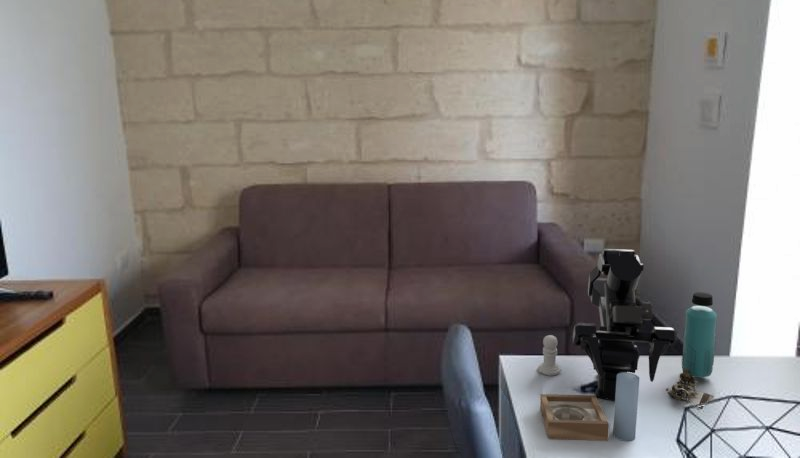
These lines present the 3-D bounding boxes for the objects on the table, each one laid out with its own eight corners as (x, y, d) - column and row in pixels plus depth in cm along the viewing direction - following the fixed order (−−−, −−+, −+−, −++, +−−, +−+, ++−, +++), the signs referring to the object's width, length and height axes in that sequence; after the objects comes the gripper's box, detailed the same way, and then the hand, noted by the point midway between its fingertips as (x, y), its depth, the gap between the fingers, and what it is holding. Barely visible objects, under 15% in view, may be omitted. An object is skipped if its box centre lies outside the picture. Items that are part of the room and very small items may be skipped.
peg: (613, 428, 117) (616, 371, 115) (634, 431, 116) (639, 373, 114) (612, 438, 114) (616, 380, 111) (635, 442, 112) (639, 383, 110)
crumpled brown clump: (664, 409, 123) (650, 368, 132) (662, 428, 126) (649, 387, 135) (727, 405, 121) (709, 364, 130) (723, 425, 124) (706, 384, 133)
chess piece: (558, 378, 139) (559, 341, 137) (535, 373, 141) (536, 337, 139) (562, 368, 143) (564, 333, 141) (540, 364, 145) (541, 329, 144)
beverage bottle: (717, 383, 134) (726, 298, 130) (687, 384, 135) (695, 298, 130) (703, 370, 141) (711, 289, 137) (674, 371, 141) (681, 289, 137)
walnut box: (540, 409, 125) (540, 394, 124) (594, 410, 124) (595, 395, 123) (548, 438, 114) (549, 422, 113) (607, 440, 113) (608, 423, 112)
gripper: (576, 284, 117) (579, 361, 109) (679, 288, 113) (690, 368, 105) (571, 308, 126) (573, 381, 118) (666, 312, 123) (675, 388, 114)
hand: (626, 379), depth 114 cm, fingers open, 9 cm apart
